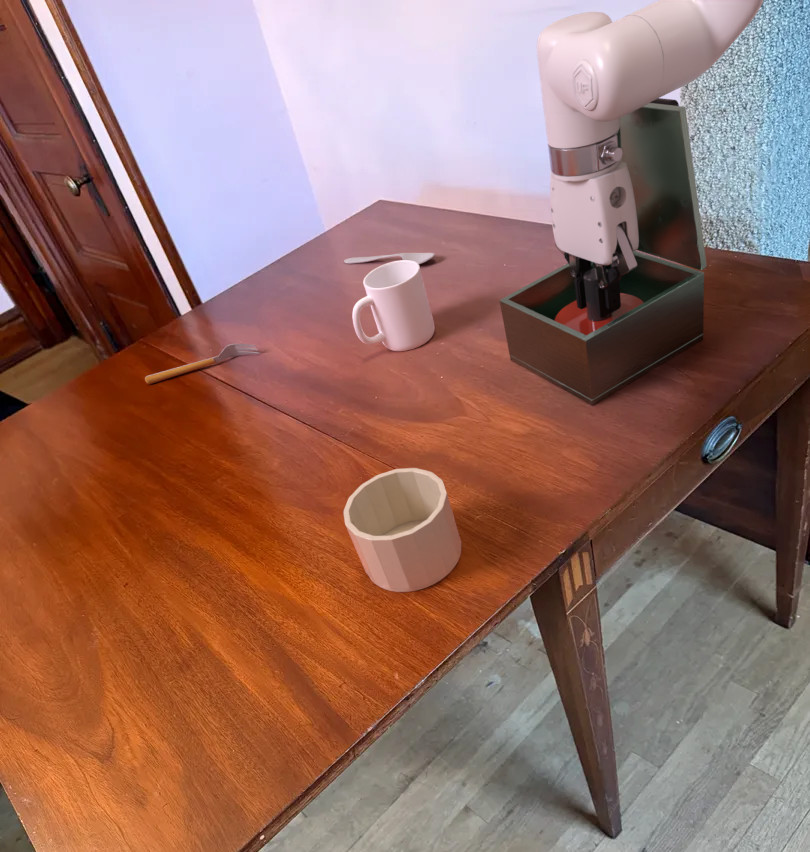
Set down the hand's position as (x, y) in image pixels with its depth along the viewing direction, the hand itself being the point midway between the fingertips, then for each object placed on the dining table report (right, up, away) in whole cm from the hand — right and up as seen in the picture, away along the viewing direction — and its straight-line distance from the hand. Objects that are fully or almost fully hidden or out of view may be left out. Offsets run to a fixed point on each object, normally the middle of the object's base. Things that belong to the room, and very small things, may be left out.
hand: (598, 307), depth 92 cm
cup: (-25, +1, +20) cm, 32 cm away
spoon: (-27, +21, +42) cm, 54 cm away
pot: (-23, -30, -14) cm, 41 cm away
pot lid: (0, -1, +1) cm, 2 cm away
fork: (-57, -1, +31) cm, 65 cm away
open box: (+2, -4, +4) cm, 6 cm away
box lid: (+3, +12, -7) cm, 14 cm away
